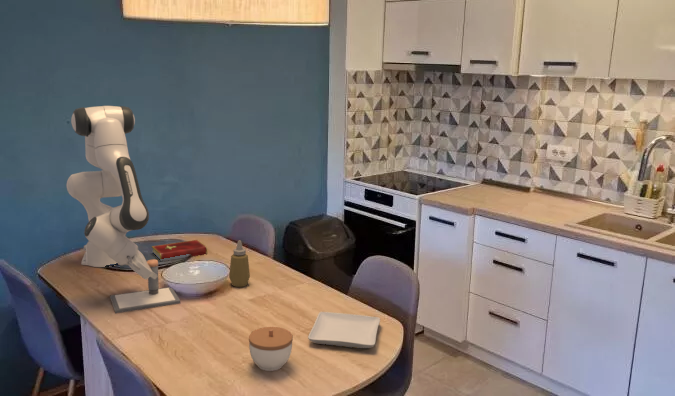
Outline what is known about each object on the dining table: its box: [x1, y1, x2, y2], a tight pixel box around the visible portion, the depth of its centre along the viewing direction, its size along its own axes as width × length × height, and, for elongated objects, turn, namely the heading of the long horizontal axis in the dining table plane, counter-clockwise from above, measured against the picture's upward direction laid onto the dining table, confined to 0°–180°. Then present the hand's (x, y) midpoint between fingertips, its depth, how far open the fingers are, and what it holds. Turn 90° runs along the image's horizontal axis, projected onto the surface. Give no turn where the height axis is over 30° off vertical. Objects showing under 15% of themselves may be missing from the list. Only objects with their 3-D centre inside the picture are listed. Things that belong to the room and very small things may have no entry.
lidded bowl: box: [248, 326, 294, 372], centre depth 171 cm, size 13×13×11 cm
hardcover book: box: [151, 239, 208, 259], centre depth 262 cm, size 12×21×4 cm, turn 124°
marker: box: [146, 258, 160, 294], centre depth 215 cm, size 4×4×12 cm
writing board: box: [109, 286, 181, 314], centre depth 213 cm, size 14×22×1 cm, turn 117°
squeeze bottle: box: [228, 240, 251, 288], centre depth 229 cm, size 8×8×18 cm
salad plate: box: [307, 311, 381, 349], centre depth 192 cm, size 21×21×3 cm
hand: (154, 275), depth 215 cm, fingers closed on marker, 4 cm apart
